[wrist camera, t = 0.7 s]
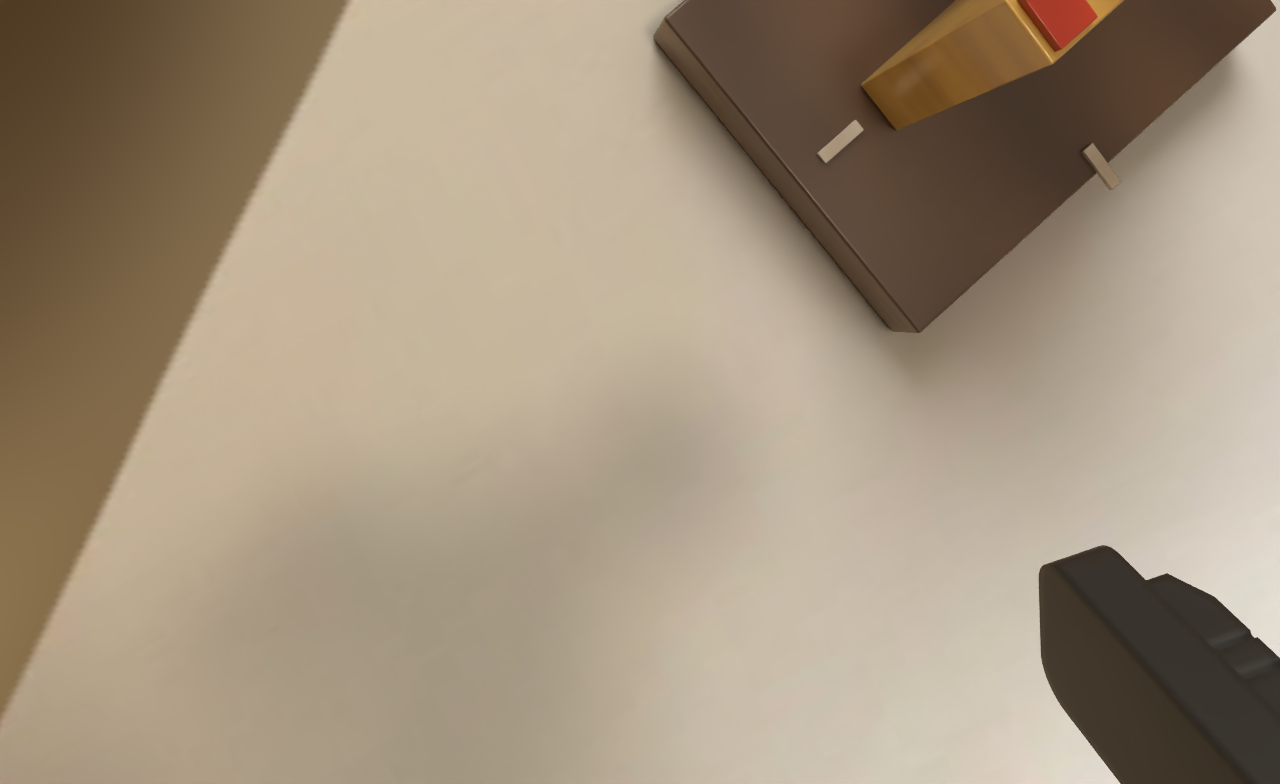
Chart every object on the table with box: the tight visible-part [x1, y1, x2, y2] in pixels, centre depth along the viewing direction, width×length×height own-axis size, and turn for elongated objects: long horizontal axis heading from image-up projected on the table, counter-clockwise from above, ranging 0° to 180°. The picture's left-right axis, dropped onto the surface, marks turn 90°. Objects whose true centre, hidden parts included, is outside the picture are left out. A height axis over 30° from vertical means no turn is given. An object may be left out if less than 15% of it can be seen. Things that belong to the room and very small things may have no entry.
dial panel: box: [653, 0, 1276, 333], centre depth 30 cm, size 14×12×2 cm
